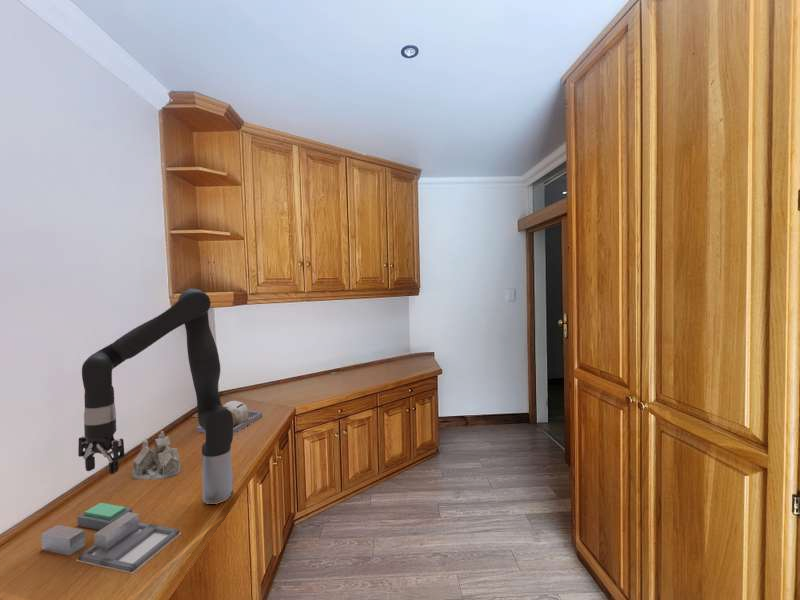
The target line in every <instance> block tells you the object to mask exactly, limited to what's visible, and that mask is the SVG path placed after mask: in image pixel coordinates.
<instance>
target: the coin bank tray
mask: <svg viewBox="0 0 800 600" xmlns="http://www.w3.org/2000/svg"><path fill="white" fill-rule="evenodd" d="M248 411H249V417H250V418H248V420H247V421H245V422H243V423H241V424H240V425H238V426H236V427H233V433H235V432H236V433H238V432H240V431H241V430H243V429H245V428H246V427H248V426H249V425H251V424H253V423H254V422H256V421H257V419H258V420H260V419H261V418H262V417H263V412H262V411H250V410H248ZM252 416H253V417H252ZM260 417H261V418H260ZM255 420H256V421H255ZM252 422H253V423H252ZM250 423H251V424H250ZM247 425H248V426H247ZM244 427H245V428H244ZM242 428H243V429H242ZM240 429H241V430H240ZM239 430H240V431H239ZM237 431H238V432H237ZM195 432H196V433H200V432H203V433H202V434H206V430H204V429H203V428H202V427H201V426H200V424H199V425H198V426H196V427H195ZM236 433H235V434H236Z"/></svg>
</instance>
